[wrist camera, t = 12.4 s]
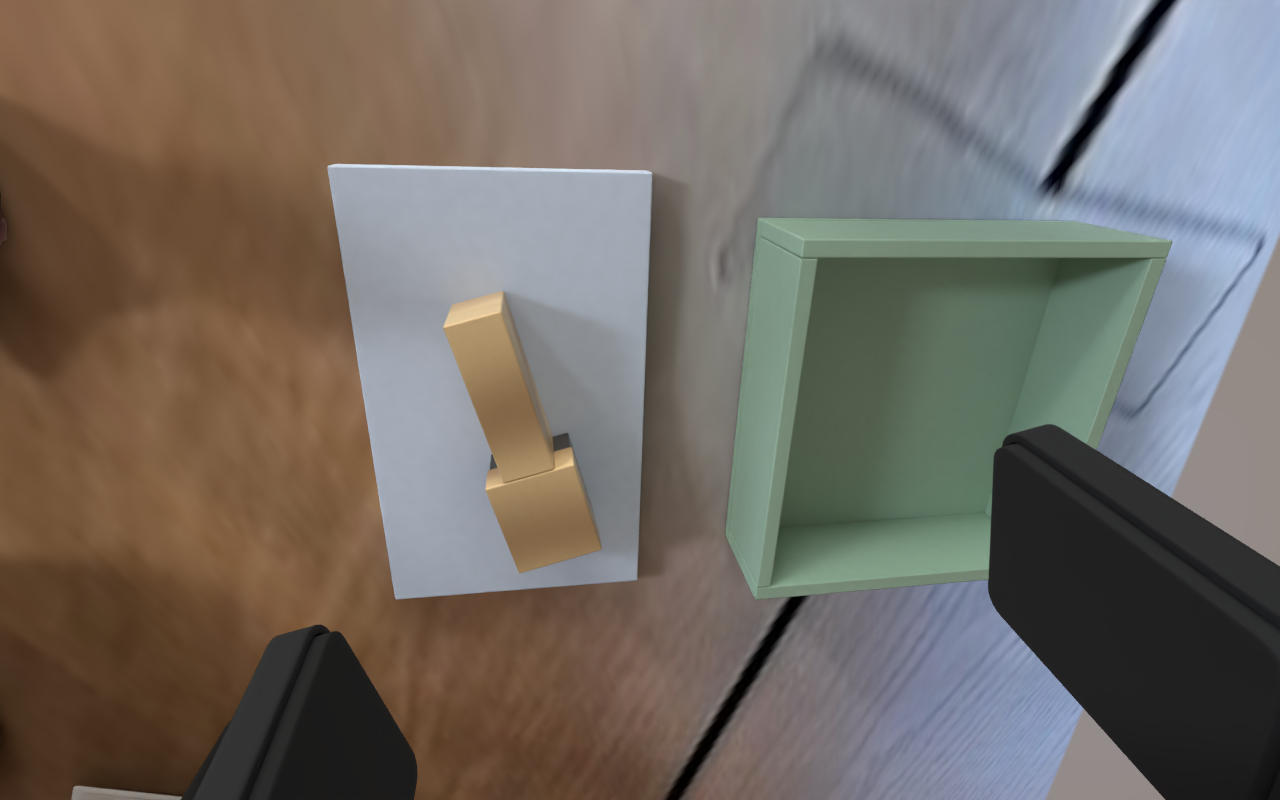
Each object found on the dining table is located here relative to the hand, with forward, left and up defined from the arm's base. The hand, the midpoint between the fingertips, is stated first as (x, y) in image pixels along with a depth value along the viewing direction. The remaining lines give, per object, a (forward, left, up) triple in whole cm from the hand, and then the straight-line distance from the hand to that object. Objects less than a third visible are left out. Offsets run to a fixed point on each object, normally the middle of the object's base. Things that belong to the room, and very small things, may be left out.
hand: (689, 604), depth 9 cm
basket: (+6, +15, -20) cm, 26 cm away
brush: (+6, -3, -19) cm, 20 cm away
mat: (+6, -3, -20) cm, 21 cm away
